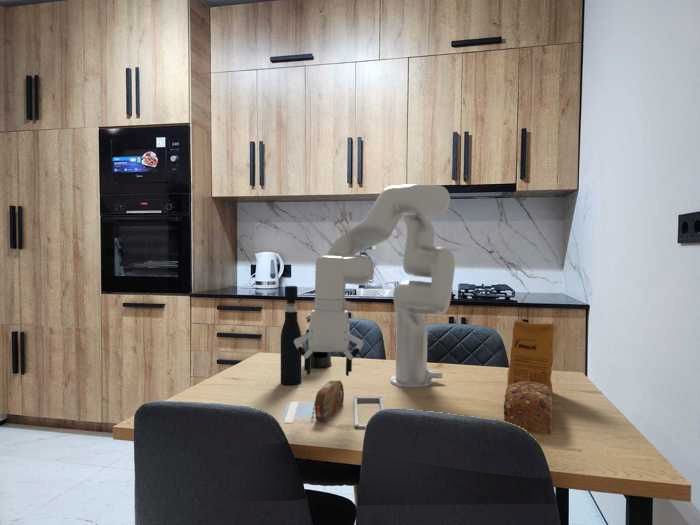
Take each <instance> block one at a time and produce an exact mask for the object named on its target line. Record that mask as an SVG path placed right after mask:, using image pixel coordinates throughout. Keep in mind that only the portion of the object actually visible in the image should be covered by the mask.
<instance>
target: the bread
mask: <svg viewBox="0 0 700 525" xmlns="http://www.w3.org/2000/svg"><path fill="white" fill-rule="evenodd" d="M503 415H504V416H503V422H504V421H506V422H509V423H512V424H515V425H517V426H520V427H521V428H524V429H525V430H527V431H528V432H529V433H536V434H541V435H542V434H543V435H551V434H552V424H553V397H551V389H550V388H549V387H548V386H546V385H544V384H540V383H536V382H530V381H518V382H517V383H514V384H512V385H509V386H508V388H506V390H505V394H504V403H503ZM527 431H526V432H527Z"/></svg>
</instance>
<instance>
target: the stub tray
mask: <svg viewBox="0 0 700 525" xmlns="http://www.w3.org/2000/svg"><path fill="white" fill-rule="evenodd" d="M358 403H379V409H380V411H381V410H382V409H385V405H384V399H383V397H382V396H354V397H353V410H354V411H353V412H354V413H353V414H354V415H353V416H354V429H355V430H357V429H358V430H359V429H360V430H364V429H365V427H366V425H367V424H359V415H358V414H359V413H358V411H359V410H358Z"/></svg>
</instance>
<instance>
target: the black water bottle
mask: <svg viewBox="0 0 700 525" xmlns="http://www.w3.org/2000/svg"><path fill="white" fill-rule="evenodd" d="M284 298H286V304H287V305H286V306H285V311H284V323H283V326H282V328H281V333H280V385H282V386H287V387H292V386H293V387H294V386H298V385H301V384H302V355H301V354H300V353H299V352H298V350H297V348H296V346H295V344H294V340H295V339H296V338H298V337H300V336H302V332H301V328H300V324H299V322H298V311H297V307H298V306H297V305H296V298H298V286H296V285H286V286H284ZM301 345H302V342H301Z"/></svg>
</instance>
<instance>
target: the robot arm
mask: <svg viewBox="0 0 700 525" xmlns="http://www.w3.org/2000/svg"><path fill="white" fill-rule="evenodd" d="M450 202H451V196H450V193H449V191H448V189H447V188H446V187H445V186H443V185H439V184H438V185H435V184H434V185H433V184H402V185H391V186H387V187H386V188H384V189H383V190H382V191H381V192H380V194H379V195H378V197H377V198H376V200H375V201H374V203H373V205H372V206H371V208H370V210H369V211H368V212H367V213H366V215H365V217H364V219H363V220H362V221H361V222H359V223H358V224H356V225H355V226H353V227H352V228H351V229H349V230H348V231H346V232H345V233H343V234H342V235H341V236H340V237H339V238H337V239H336V241H334V243H333V244H332V245H331V247H330V248H329V250H328V251H327V253H326V254H325V255H321V256H318V257H317V258H316V260H315V269H314V270H315V272H314V273H315V278H314V280H315V281H314V283H315V284H314V285H315V286H314V300H315V302H314V309H312V310H311V312H310V316H311V317H310V322H309V325H308V329H309V333H307V334H306V333H305V334H303V335H301V336H300V337H298V338H296V339H295V340H294V344H295V346H296V348H297V350H298V352H299V353H300V354H301V357H303V358H304V364H303V365H304V371H305V372H306V375H307V376H309V375H311V370H312V367H311V357H310V355H311V354H312V352H313V351H314V352H330V353H343V354H344V355H345V356H346V358H345V376H346V377H348V376H349V375H350V374H349V373H352V370H353V368H352V367H353V366H352V364H353V360H354V358H355V357H356V356H357V355H358V354H359V353H360V352H361V350H362V347H363V346H364V343H365V342H364V341H363V339H360V338H358V337H356V335H353V334H351V333H350V318H349V311H348V310H346V308H348V307H349V308H350V307H351V306H352V305H351V301H348V300H347V299H346V284H348V285H357V286H359V285H365V284H366V283H368V282H369V281H371V279H372V277H373V276H374V273H375V271H374V270H375V267H374V264H373V262H372V261H371V260H370V259H369V258H368V257H366V256H363V255H356V254H359V252H361V251H363V250H366V249H367V248H371V247H374V246H376V245H379V244H381V243H383V242H386V241H387V240H388V239H389V238H390V237H391V235H392V234H393V231H394V229H395V228H396V227H397V225H398V222H399V221H400V220H401V218H403V220H404V222H405V225H406V240H405V245H404V246H405V247H404V252H403V253H404V254H403V261H402V262H403V263H402V264H403V265H402V268H403V271H404V273H405V274H406V275H408V276H410V277H416V278H417V277H419V278H426V279H431V281H422V280H421V281H420V280H404V281H401V282H398V283H397V285H396V286H395V287H394V289H393V298H392V300H393V304H394V310H395V319H396V320H395V321H396V323H395V324H396V326H395V327H396V328H395V331H396V332H395V333H396V335H395V336H396V337H395V342H396V343H395V374H394V375H392V376H391V377H390V383H391V384H392V385H393V386H396V387H398V388H405V389H421V388H426V387H429V386H431V385H432V383H433V382H432V379H443V372H442V371H437V370H429V369H428V324H427V321H426V319H425V316H424V315H430V316H441V315H444V314H445V313H447V311H448V310H449V307H450V304H451V301H452V292H453V283H454V278H455V277H454V276H455V271H456V270H455V269H456V262H455V261H456V260H455V257H454V254H453V252H452V250H450V248H448V247H446V246H439V245H438V246H435V245H434V244H435V234H436V233H435V227H434V225H433V223H432V222H431V220H430V218H429V217H428V216H438V215H439V216H440V215H443V214H444V213H446V212H447V211H448V209H449V207H450ZM307 339H308V349H307V348H306V349H305V348H304V347H303V345H302V344H301V342H305V341H307ZM350 342H353V343H355V344H356V346H355V348H354V349H352V350H350V347H349V346H350Z"/></svg>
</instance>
